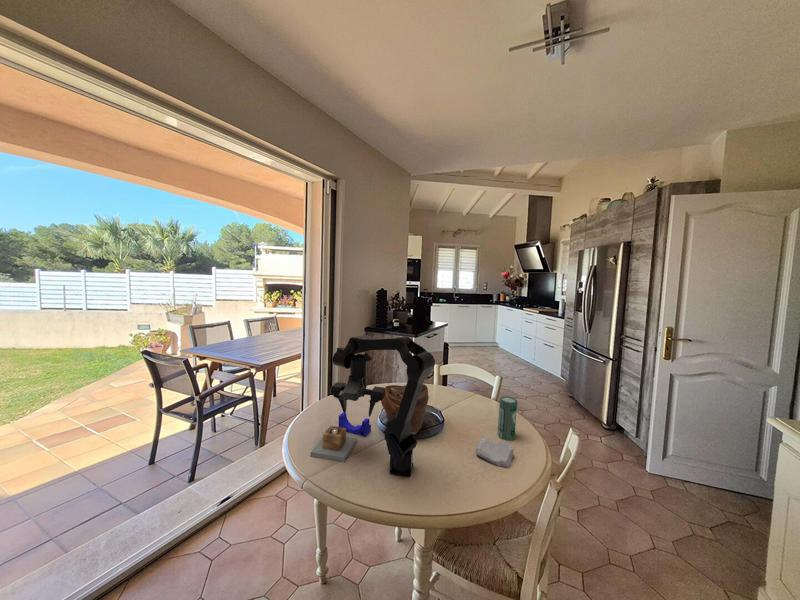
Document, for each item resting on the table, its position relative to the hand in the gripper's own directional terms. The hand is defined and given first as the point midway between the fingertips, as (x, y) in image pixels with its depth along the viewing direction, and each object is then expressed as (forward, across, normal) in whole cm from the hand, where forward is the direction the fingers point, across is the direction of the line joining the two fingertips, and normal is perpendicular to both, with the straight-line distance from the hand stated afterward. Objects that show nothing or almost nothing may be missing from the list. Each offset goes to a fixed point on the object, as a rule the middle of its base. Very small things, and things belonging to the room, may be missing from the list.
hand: (357, 414), depth 106 cm
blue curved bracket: (+12, -4, +10) cm, 17 cm away
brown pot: (+12, +14, +17) cm, 25 cm away
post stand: (+12, -7, -3) cm, 14 cm away
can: (+12, +54, +22) cm, 60 cm away
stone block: (+12, +48, +7) cm, 50 cm away
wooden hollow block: (+10, -7, -3) cm, 13 cm away
